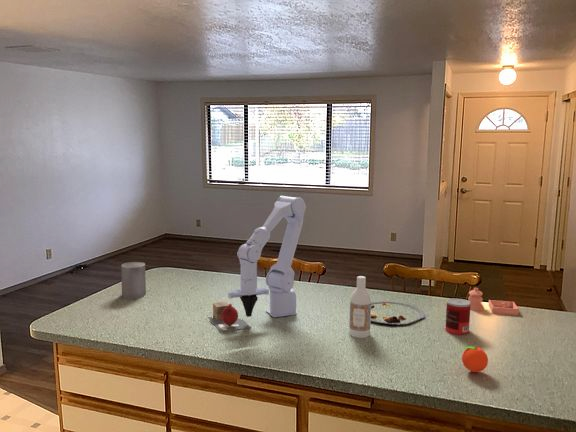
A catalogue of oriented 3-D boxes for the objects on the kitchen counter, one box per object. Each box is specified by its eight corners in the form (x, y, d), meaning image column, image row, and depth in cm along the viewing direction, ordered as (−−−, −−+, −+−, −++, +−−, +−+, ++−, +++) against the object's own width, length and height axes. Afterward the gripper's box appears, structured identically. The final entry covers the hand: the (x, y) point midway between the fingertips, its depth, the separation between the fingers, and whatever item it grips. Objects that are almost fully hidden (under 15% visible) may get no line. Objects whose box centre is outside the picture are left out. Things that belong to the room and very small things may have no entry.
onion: (235, 329, 172) (235, 307, 171) (219, 328, 173) (218, 305, 172) (240, 323, 178) (240, 302, 177) (224, 322, 179) (224, 300, 178)
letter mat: (235, 312, 191) (235, 312, 191) (251, 327, 175) (251, 327, 174) (206, 316, 186) (206, 315, 186) (220, 332, 170) (220, 331, 170)
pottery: (512, 312, 195) (514, 287, 194) (518, 320, 186) (520, 294, 185) (464, 308, 199) (465, 284, 198) (467, 316, 190) (468, 290, 189)
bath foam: (347, 337, 167) (349, 278, 164) (351, 330, 173) (352, 273, 171) (368, 339, 165) (370, 280, 162) (371, 332, 171) (373, 275, 169)
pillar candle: (128, 292, 216) (127, 258, 214) (149, 293, 214) (149, 259, 212) (117, 299, 206) (116, 263, 204) (140, 300, 205) (139, 264, 203)
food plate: (394, 334, 171) (394, 324, 171) (343, 316, 189) (343, 307, 188) (435, 318, 188) (435, 309, 187) (385, 303, 205) (385, 295, 205)
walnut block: (226, 314, 188) (226, 301, 187) (230, 318, 183) (230, 305, 183) (213, 316, 186) (212, 303, 185) (216, 320, 181) (216, 307, 181)
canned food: (468, 330, 175) (470, 299, 173) (468, 338, 167) (470, 306, 166) (445, 327, 177) (447, 297, 176) (444, 335, 170) (446, 303, 168)
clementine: (456, 373, 141) (458, 349, 140) (457, 363, 147) (459, 340, 146) (487, 378, 138) (489, 353, 137) (487, 368, 144) (488, 344, 143)
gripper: (263, 273, 183) (263, 310, 184) (225, 277, 177) (225, 314, 179) (271, 278, 176) (270, 315, 178) (231, 282, 170) (231, 320, 172)
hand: (248, 315), depth 178 cm, fingers closed
